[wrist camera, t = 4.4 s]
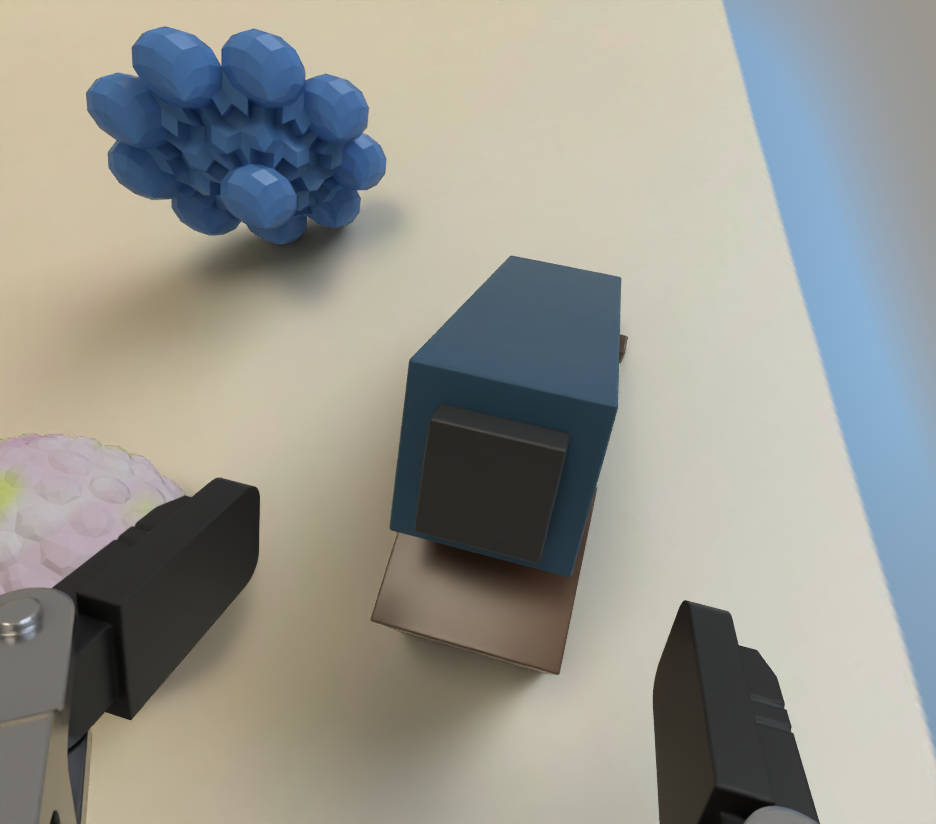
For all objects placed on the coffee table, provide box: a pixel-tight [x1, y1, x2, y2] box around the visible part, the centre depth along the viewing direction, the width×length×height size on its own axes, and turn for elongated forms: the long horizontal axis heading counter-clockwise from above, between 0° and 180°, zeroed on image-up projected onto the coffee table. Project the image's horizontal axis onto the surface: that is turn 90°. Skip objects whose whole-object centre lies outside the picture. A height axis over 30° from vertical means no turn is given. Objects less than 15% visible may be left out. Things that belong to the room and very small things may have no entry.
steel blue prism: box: [390, 256, 621, 577], centre depth 23 cm, size 14×5×14 cm, turn 165°
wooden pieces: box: [371, 335, 628, 675], centre depth 25 cm, size 15×7×7 cm, turn 165°
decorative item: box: [0, 434, 184, 595], centre depth 24 cm, size 9×11×10 cm
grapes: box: [86, 27, 386, 245], centre depth 28 cm, size 12×7×12 cm, turn 105°
